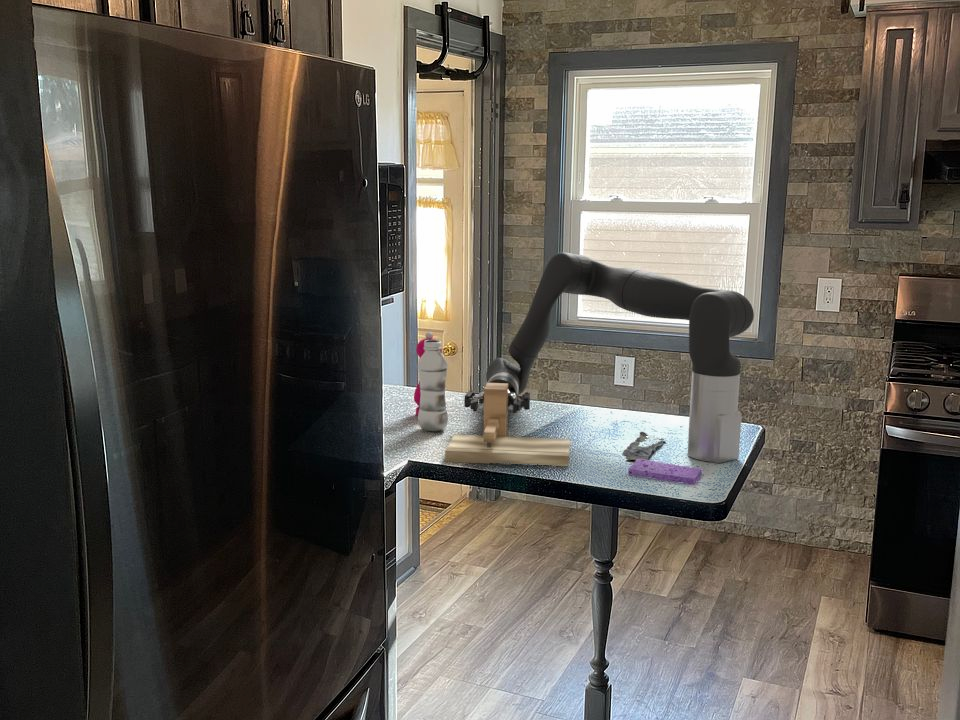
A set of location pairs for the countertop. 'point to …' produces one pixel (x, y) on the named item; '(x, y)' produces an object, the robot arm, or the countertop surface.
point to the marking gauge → (495, 411)
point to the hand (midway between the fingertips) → (494, 407)
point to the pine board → (508, 450)
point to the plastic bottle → (432, 387)
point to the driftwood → (640, 448)
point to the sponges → (665, 471)
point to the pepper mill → (420, 352)
